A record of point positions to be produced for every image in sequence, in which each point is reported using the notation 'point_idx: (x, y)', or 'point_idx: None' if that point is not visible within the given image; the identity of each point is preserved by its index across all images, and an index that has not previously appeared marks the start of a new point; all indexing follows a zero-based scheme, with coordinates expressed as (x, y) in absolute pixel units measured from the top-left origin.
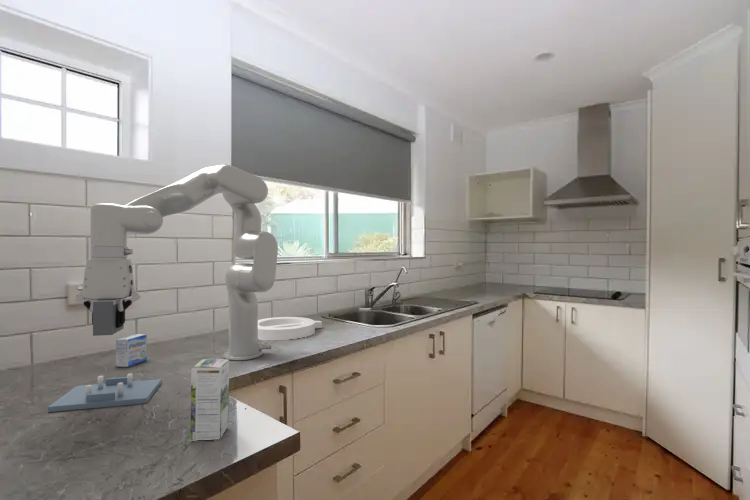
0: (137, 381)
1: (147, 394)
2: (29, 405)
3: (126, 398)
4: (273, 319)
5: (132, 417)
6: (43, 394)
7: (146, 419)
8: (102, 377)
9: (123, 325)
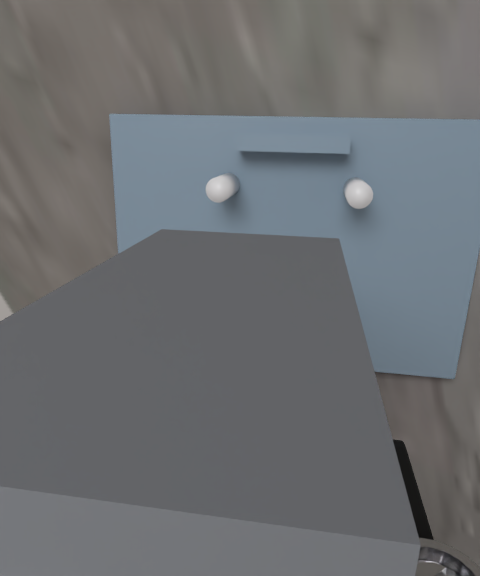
0: (378, 127)
1: (453, 339)
2: (33, 250)
3: (374, 356)
4: None
5: (417, 475)
6: (9, 130)
7: (464, 505)
8: (229, 196)
9: (340, 248)
